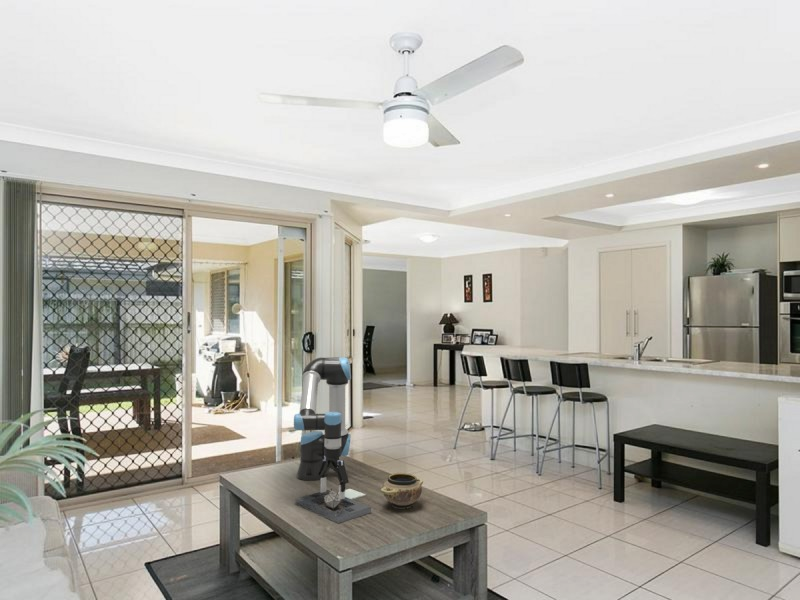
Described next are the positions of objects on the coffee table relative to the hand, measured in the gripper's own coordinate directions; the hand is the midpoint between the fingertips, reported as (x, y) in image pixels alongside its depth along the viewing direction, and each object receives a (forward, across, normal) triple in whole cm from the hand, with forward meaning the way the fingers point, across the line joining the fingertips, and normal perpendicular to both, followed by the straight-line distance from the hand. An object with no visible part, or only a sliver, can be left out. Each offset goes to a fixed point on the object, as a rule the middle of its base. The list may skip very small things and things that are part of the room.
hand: (332, 495), depth 242 cm
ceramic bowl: (+6, +19, +25) cm, 32 cm away
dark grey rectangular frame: (+6, 0, 0) cm, 6 cm away
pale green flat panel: (+6, -9, +16) cm, 20 cm away
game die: (+6, 0, 0) cm, 6 cm away
